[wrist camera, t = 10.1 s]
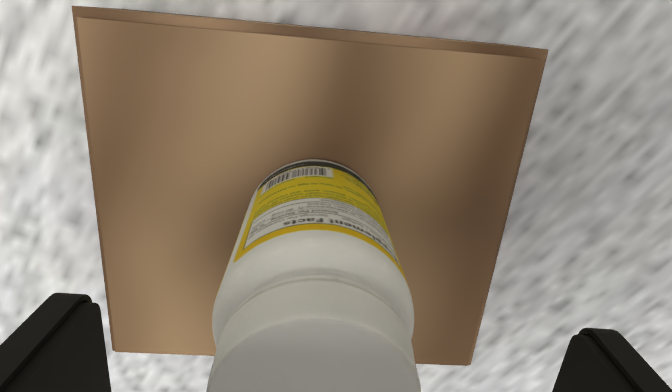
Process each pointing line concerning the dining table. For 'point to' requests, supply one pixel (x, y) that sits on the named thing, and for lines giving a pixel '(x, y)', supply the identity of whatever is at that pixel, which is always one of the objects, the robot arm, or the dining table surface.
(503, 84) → the walnut stand
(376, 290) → the supplement bottle
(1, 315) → the dining table surface
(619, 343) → the robot arm
